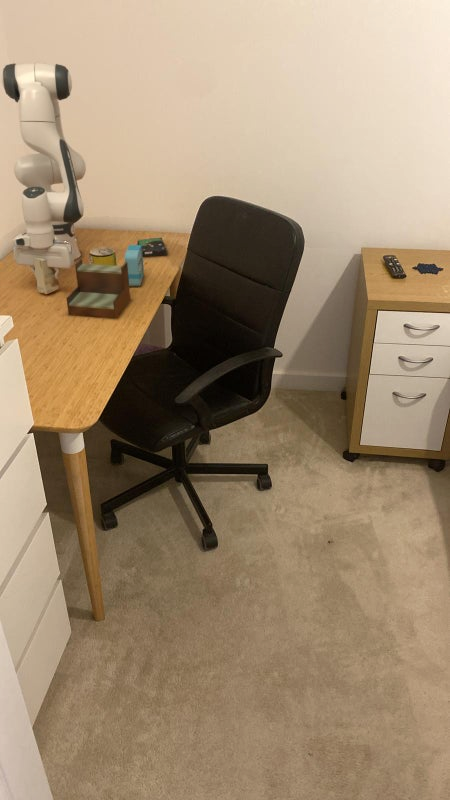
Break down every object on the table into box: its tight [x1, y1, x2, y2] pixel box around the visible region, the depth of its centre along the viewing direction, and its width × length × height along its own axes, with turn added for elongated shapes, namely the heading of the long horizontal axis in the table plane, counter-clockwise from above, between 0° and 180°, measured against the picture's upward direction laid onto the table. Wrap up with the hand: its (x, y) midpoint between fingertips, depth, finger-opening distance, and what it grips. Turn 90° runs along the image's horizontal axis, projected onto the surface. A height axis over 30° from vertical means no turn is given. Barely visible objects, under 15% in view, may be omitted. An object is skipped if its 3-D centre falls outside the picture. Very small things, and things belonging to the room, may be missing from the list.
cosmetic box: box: [33, 258, 60, 295], centre depth 221 cm, size 6×4×12 cm
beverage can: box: [88, 246, 118, 266], centre depth 229 cm, size 9×9×12 cm
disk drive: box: [137, 237, 168, 258], centre depth 261 cm, size 10×3×15 cm
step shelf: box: [66, 258, 131, 320], centre depth 211 cm, size 16×15×14 cm
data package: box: [124, 244, 145, 288], centre depth 231 cm, size 12×4×12 cm, turn 179°
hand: (47, 278), depth 222 cm, fingers closed on cosmetic box, 5 cm apart
